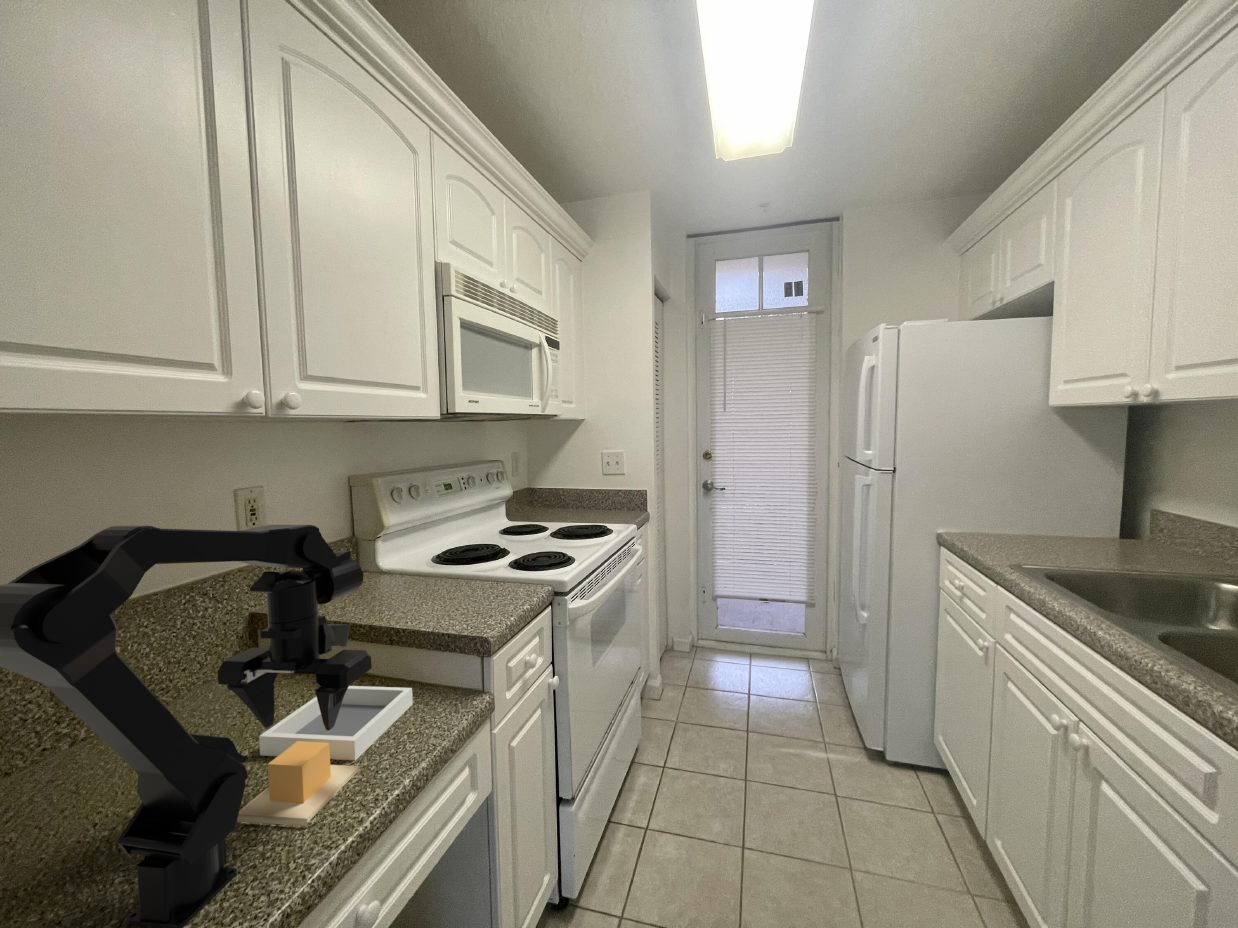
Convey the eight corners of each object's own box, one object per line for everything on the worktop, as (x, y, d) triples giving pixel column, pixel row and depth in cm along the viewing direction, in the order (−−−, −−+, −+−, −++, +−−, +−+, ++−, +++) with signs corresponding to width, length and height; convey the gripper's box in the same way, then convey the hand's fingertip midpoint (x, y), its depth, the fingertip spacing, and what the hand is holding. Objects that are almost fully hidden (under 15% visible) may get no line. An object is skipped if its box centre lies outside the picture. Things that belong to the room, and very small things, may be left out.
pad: (307, 826, 60) (307, 818, 60) (236, 821, 62) (235, 813, 61) (359, 772, 70) (358, 766, 70) (297, 769, 71) (296, 762, 71)
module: (303, 802, 63) (302, 765, 63) (269, 800, 64) (267, 763, 64) (330, 776, 68) (329, 742, 68) (298, 774, 69) (297, 740, 68)
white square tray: (355, 763, 73) (354, 740, 72) (260, 757, 74) (259, 736, 74) (412, 706, 88) (411, 687, 88) (333, 703, 90) (332, 685, 90)
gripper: (392, 597, 72) (396, 698, 73) (279, 596, 74) (285, 694, 75) (341, 625, 61) (346, 744, 62) (210, 623, 63) (217, 737, 64)
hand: (299, 727), depth 66 cm, fingers open, 9 cm apart
